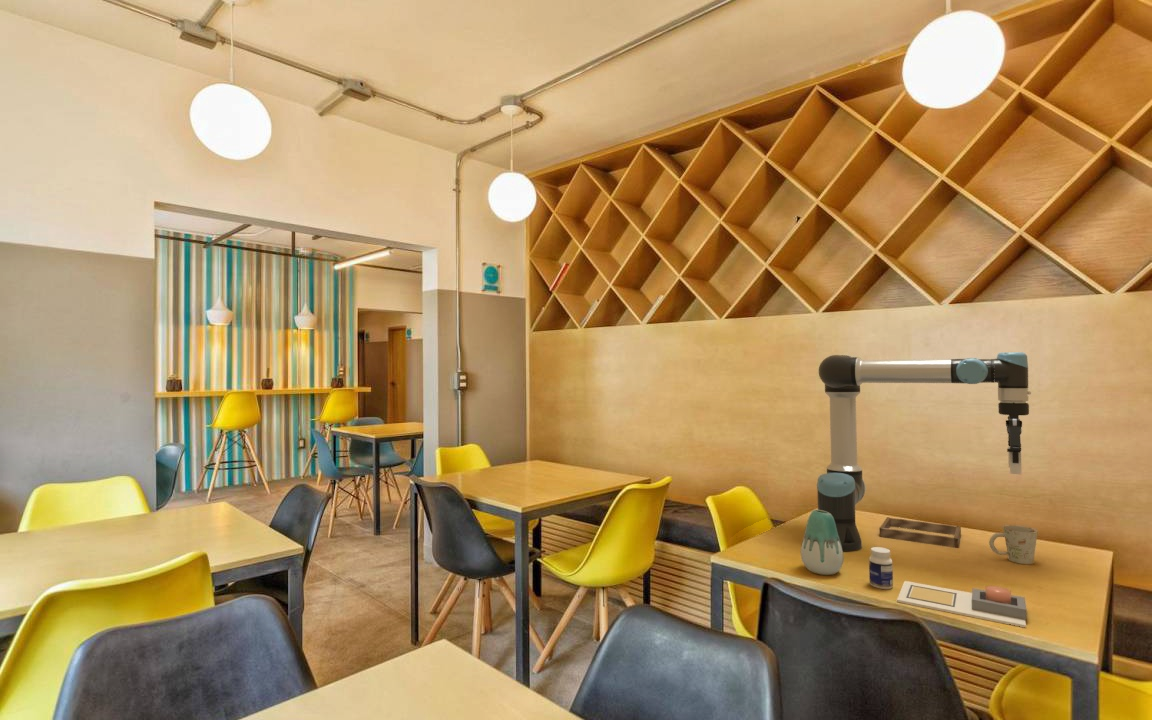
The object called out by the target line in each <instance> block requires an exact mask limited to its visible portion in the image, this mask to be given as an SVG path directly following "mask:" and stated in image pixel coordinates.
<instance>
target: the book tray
mask: <svg viewBox="0 0 1152 720" xmlns="http://www.w3.org/2000/svg"><path fill="white" fill-rule="evenodd" d="M892 527H893V528H892ZM899 527H900V529H901V530H900V529H895V528H899ZM906 528H907V530H902V529H906ZM908 529H909V531H908ZM914 529H915V531H910V530H914ZM917 531H923V532H930V533H922V532H917ZM878 532H879V538H880V537H881V538H886V539H894V540H895V539H896V540H900V541H907V542H912V543H913V542H915V543H920V544H921V543H922V544H928V545H936V546H942V547H949V548H957V549H959V548H960V542H961V537H962V533H961V532H962V528H961V526H959V525H951V524H944V523H943V524H942V523H935V522H927V521H919V520H911V519H905V518H904V519H903V518H897V517H886V518H885V519H884V521H883V522H882V524H881V525H880V526H879V531H878ZM931 533H937V534H931ZM939 534H944V535H939ZM946 535H952V536H953V537H952V536H946Z"/></svg>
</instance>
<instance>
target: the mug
mask: <svg viewBox="0 0 1152 720" xmlns="http://www.w3.org/2000/svg"><path fill="white" fill-rule="evenodd" d="M1002 529H1003V532H996V533H994V534H992V535H991V536H990V538H989V539H988V544H989V548H990V550H992V551H993V553H995V554H997V555H1002V556H1004V555H1005V556H1006V555H1007V556H1008V557H1007V558H1008V561H1010V562H1012V563H1016V564H1020V565H1033V564H1034V561H1035V560H1034V559H1035V554H1036V547H1037V546H1036V545H1037V538H1038V530H1037V529H1035V528H1032V527H1028V526H1023V525H1015V524H1014V525H1013V524H1012V525H1011V524H1008V525H1004V526H1003V527H1002ZM997 538H1004V539H1005V545H1006V546H1005V548H1006V551H999V550H998V549H997V548H996V546H995V540H996V539H997Z"/></svg>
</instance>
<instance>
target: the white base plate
mask: <svg viewBox="0 0 1152 720" xmlns="http://www.w3.org/2000/svg"><path fill="white" fill-rule="evenodd" d="M896 603H900V604H906V605H911V606H915V607H921V608H925V609H929V610H930V609H931V610H936V611H940V612H946V613H951V614H955V615H960V616H966V617H969V618H975V619H978V620H979V619H980V620H985V621H988V622H989V621H990V622H994V623H1000V624H1003V625H1004V624H1006V625H1009V624H1011V625H1010V626H1014V625H1015V627H1019V626H1020V628H1024V627H1025V628H1024V629H1027V622H1026V621H1027V620H1028V613H1027V612H1028V611H1027V604H1026V598H1025V596H1024V597H1023V596H1018V595H1014V594H1011V605H1010V604H1004V603H999V602H994V601H988V600H986V589H979V588H973V587H972V591H971V592H968V591H963V590H959V589H957V590H956V589H952V588H947V587H946V588H945V587H940V586H935V585H929V584H924V583H919V582H913V581H908V580H904V582H903V584H902V586H901V589H900V591H899V594H898V595H897V599H896Z"/></svg>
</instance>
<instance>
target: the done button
mask: <svg viewBox="0 0 1152 720" xmlns="http://www.w3.org/2000/svg"><path fill="white" fill-rule="evenodd" d="M985 590H986V600H988V601H994V602H999V603H1004V604H1010V605H1011V595H1012V592H1011V590H1009V589H1008V588H1005V587H1002V586H995V585H994V586H993V585H988V586H985Z"/></svg>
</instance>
